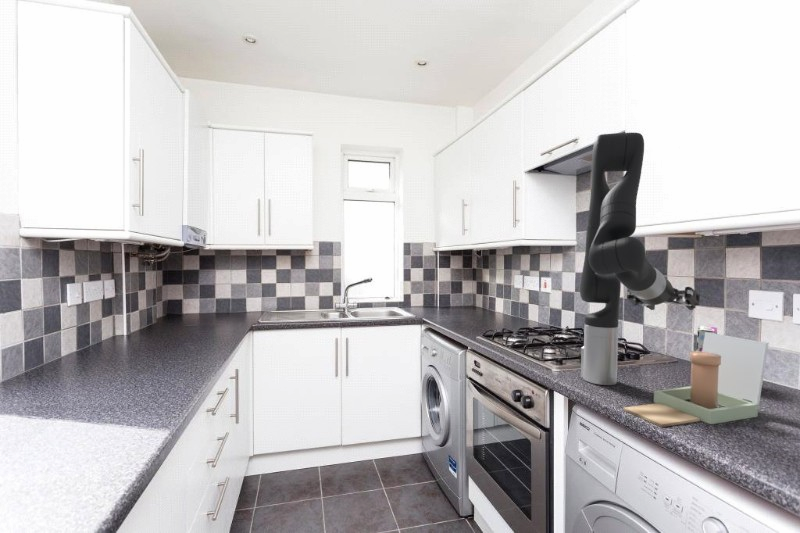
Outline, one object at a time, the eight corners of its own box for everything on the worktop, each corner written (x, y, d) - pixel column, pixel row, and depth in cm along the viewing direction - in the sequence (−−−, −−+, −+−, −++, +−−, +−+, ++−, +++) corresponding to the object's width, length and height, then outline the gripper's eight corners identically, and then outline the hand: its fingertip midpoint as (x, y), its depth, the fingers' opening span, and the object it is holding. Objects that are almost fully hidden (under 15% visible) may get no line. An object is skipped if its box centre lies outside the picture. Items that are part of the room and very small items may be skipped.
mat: (623, 409, 96) (623, 407, 96) (659, 405, 99) (659, 402, 99) (661, 427, 86) (661, 424, 86) (699, 420, 90) (699, 418, 90)
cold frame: (653, 402, 101) (654, 390, 101) (697, 396, 106) (697, 385, 106) (710, 424, 88) (710, 411, 88) (757, 416, 93) (757, 404, 93)
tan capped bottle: (682, 405, 99) (683, 351, 99) (699, 403, 101) (701, 350, 101) (707, 415, 93) (709, 358, 93) (725, 412, 95) (727, 356, 95)
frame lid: (696, 386, 106) (698, 332, 106) (705, 385, 107) (707, 331, 107) (756, 405, 93) (759, 343, 92) (766, 403, 94) (768, 342, 93)
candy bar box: (715, 386, 115) (717, 331, 115) (694, 382, 118) (696, 329, 118) (715, 377, 124) (717, 326, 123) (696, 374, 127) (697, 324, 127)
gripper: (683, 266, 86) (706, 292, 95) (616, 271, 97) (642, 293, 106) (682, 298, 83) (705, 321, 92) (613, 299, 95) (640, 319, 104)
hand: (671, 306), depth 99 cm, fingers open, 8 cm apart
